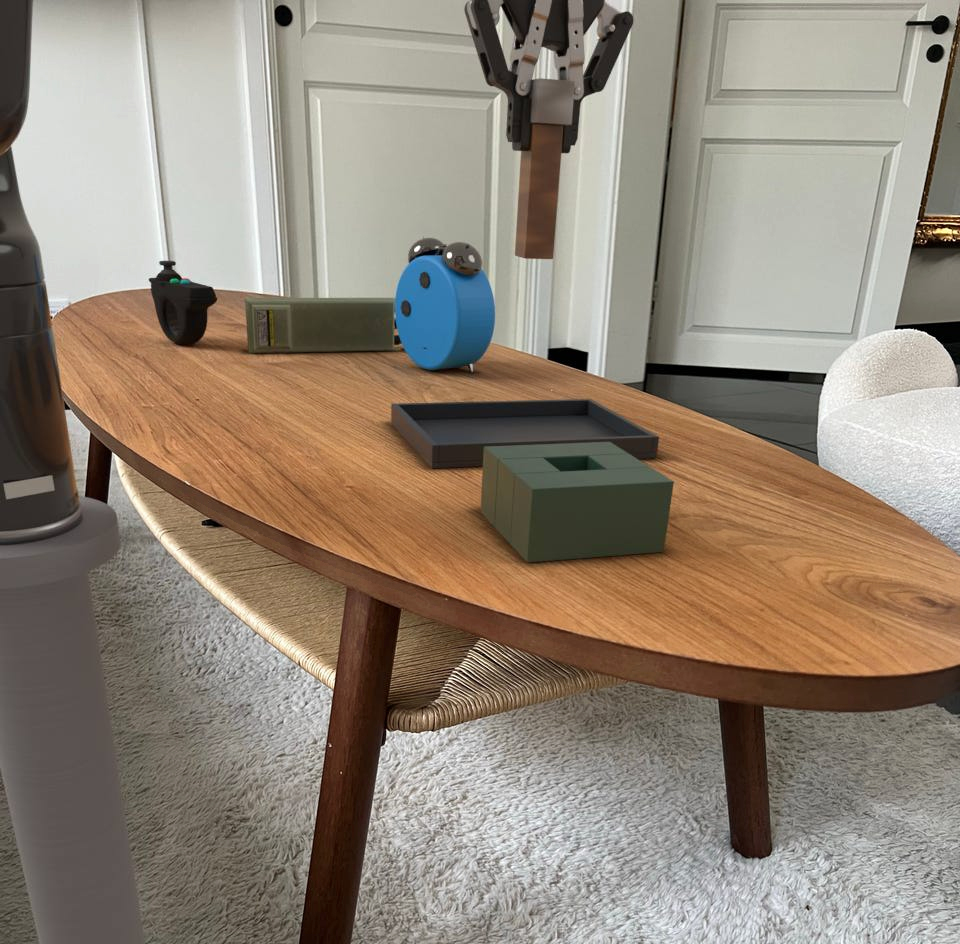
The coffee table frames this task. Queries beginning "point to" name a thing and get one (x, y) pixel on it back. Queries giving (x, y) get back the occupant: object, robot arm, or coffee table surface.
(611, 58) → the robot arm
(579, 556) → the holder
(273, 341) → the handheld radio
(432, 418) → the tray
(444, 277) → the alarm clock
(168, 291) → the controller
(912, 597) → the coffee table surface
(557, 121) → the brown and grey block
